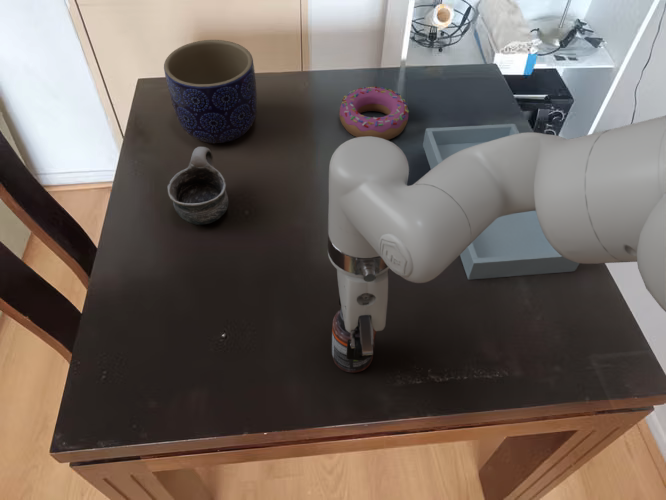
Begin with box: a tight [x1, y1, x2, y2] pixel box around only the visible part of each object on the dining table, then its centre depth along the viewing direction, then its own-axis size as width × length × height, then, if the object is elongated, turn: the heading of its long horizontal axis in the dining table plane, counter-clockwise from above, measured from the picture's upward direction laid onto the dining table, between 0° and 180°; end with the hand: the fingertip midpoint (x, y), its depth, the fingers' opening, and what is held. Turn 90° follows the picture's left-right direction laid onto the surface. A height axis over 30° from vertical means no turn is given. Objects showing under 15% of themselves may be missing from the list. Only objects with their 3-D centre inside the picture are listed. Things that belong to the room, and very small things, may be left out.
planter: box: [163, 39, 258, 144], centre depth 105 cm, size 16×17×15 cm
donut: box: [338, 86, 410, 141], centre depth 111 cm, size 14×14×5 cm
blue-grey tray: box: [422, 123, 580, 281], centre depth 96 cm, size 34×18×4 cm, turn 6°
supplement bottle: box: [331, 306, 377, 374], centre depth 73 cm, size 6×6×11 cm
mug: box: [167, 146, 229, 226], centre depth 92 cm, size 10×12×10 cm
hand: (354, 328), depth 72 cm, fingers open, 7 cm apart
